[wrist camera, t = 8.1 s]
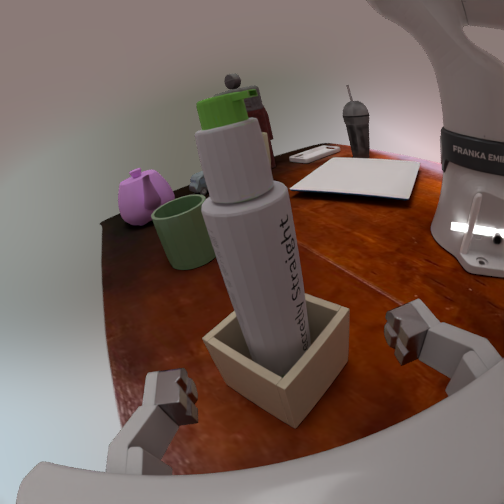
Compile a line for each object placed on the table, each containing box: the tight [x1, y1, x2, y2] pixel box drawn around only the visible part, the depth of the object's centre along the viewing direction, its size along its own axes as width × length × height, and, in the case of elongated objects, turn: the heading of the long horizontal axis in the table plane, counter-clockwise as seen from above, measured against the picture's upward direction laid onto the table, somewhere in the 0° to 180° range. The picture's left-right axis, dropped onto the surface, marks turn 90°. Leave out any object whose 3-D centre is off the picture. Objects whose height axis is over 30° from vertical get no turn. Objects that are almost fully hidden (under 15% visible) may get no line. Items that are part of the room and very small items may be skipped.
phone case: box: [289, 146, 340, 163], centre depth 78 cm, size 7×1×15 cm
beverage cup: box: [343, 85, 369, 158], centre depth 64 cm, size 7×7×20 cm
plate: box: [290, 157, 420, 201], centre depth 53 cm, size 22×22×2 cm
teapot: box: [118, 168, 175, 226], centre depth 60 cm, size 20×13×12 cm, turn 36°
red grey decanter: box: [214, 74, 276, 169], centre depth 70 cm, size 9×11×28 cm
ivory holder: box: [202, 294, 349, 429], centre depth 20 cm, size 7×7×6 cm
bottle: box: [195, 89, 311, 378], centre depth 16 cm, size 4×4×20 cm
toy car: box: [189, 171, 208, 195], centre depth 70 cm, size 6×10×5 cm, turn 127°
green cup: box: [151, 194, 216, 270], centre depth 40 cm, size 8×8×8 cm
